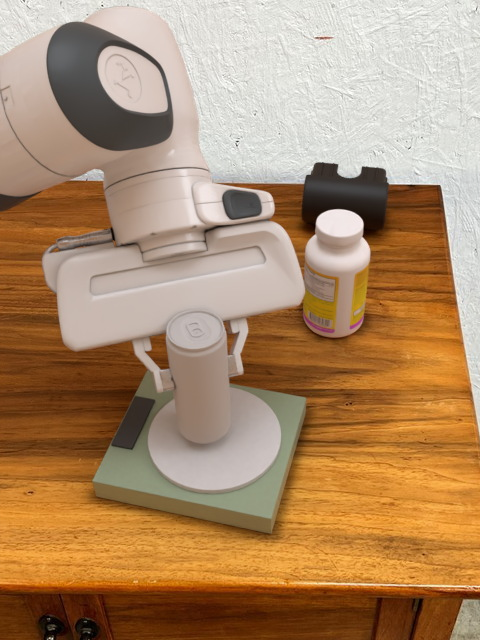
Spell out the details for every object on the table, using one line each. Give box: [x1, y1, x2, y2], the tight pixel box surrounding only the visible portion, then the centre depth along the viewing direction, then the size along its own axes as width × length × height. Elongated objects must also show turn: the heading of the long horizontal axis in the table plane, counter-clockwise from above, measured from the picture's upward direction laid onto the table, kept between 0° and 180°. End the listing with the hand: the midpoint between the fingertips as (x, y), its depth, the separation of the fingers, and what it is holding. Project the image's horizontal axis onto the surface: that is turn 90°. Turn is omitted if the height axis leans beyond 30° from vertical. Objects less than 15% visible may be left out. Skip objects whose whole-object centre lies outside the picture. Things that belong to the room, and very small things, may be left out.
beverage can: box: [165, 309, 231, 444], centre depth 65 cm, size 5×5×12 cm
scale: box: [91, 369, 307, 535], centre depth 71 cm, size 16×14×3 cm
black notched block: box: [301, 161, 390, 231], centre depth 95 cm, size 10×7×7 cm
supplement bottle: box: [302, 209, 371, 339], centre depth 80 cm, size 7×7×13 cm
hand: (200, 383), depth 64 cm, fingers closed on beverage can, 4 cm apart
